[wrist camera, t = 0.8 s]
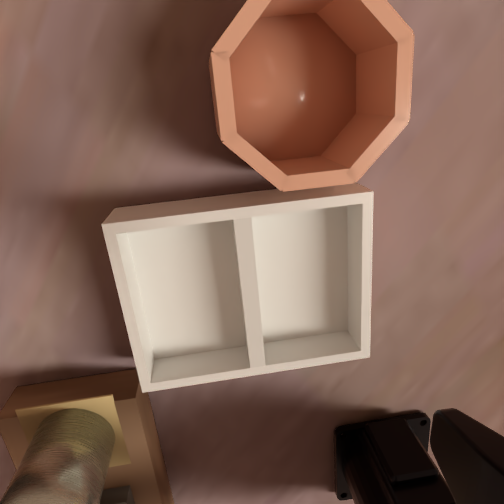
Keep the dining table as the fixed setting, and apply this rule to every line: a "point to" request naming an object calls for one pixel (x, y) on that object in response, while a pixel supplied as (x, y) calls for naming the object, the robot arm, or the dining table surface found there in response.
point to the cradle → (116, 413)
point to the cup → (312, 88)
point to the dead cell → (64, 461)
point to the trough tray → (244, 282)
